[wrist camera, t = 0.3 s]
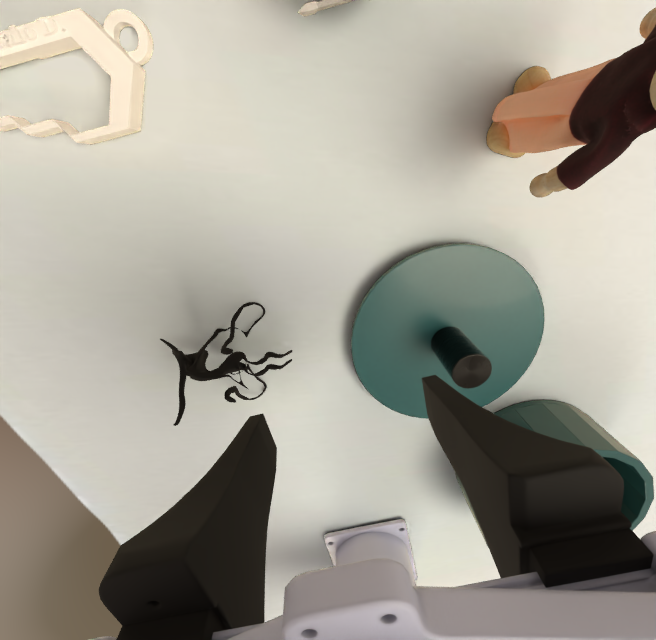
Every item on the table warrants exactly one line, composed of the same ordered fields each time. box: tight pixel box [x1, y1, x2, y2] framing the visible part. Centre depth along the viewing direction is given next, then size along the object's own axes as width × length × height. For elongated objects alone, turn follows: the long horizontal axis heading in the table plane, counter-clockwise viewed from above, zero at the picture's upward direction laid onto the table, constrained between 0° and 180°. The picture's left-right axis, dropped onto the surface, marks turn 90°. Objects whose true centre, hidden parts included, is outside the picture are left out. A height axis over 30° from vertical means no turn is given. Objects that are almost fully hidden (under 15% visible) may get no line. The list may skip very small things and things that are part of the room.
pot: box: [455, 400, 654, 548], centre depth 27 cm, size 12×13×6 cm
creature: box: [160, 302, 292, 426], centre depth 22 cm, size 8×5×8 cm
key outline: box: [0, 8, 153, 145], centre depth 17 cm, size 13×5×2 cm, turn 103°
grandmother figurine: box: [487, 8, 656, 197], centre depth 14 cm, size 8×4×13 cm, turn 163°
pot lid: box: [351, 243, 544, 418], centre depth 22 cm, size 14×14×5 cm
